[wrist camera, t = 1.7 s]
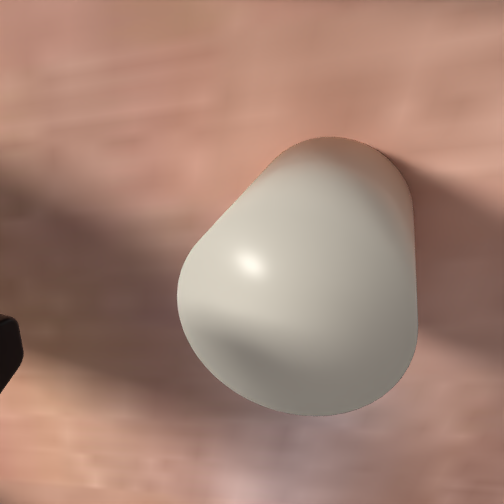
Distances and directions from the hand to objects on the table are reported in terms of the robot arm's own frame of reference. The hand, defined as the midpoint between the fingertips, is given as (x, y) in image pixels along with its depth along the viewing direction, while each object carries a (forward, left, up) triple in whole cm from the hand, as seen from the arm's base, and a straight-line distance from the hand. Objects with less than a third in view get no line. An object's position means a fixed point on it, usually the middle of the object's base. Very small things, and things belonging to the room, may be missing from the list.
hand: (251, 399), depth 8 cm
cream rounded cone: (0, 0, -8) cm, 8 cm away
